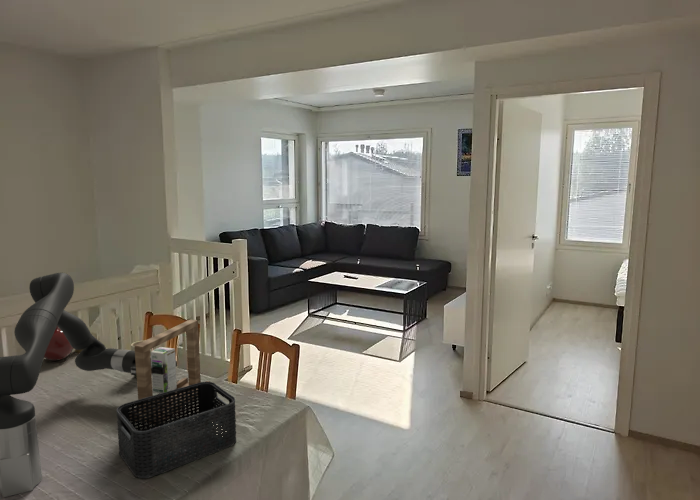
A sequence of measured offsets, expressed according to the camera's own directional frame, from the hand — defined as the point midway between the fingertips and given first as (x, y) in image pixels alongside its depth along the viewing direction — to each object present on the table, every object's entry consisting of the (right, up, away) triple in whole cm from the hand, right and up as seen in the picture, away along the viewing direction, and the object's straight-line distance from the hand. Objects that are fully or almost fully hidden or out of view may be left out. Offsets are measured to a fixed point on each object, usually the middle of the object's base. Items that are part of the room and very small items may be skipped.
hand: (170, 367), depth 162 cm
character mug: (-19, -9, +23) cm, 32 cm away
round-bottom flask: (-61, -6, +40) cm, 73 cm away
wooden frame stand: (0, -12, +2) cm, 13 cm away
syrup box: (-3, -8, +2) cm, 9 cm away
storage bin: (+12, -17, -24) cm, 32 cm away
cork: (-57, -5, +50) cm, 75 cm away
